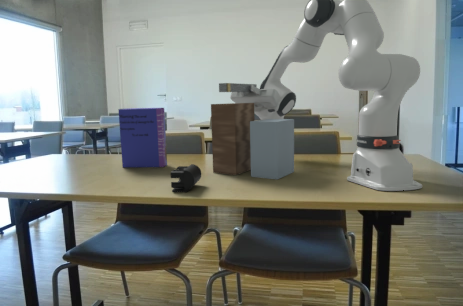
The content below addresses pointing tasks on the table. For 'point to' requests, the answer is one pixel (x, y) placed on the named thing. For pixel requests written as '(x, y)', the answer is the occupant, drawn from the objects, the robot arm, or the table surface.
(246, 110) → the tall walnut stand
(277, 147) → the blue-grey rectangular block
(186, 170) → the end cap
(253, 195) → the table surface
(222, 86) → the grey yellow-banded bar
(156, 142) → the blue book
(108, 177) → the table surface
